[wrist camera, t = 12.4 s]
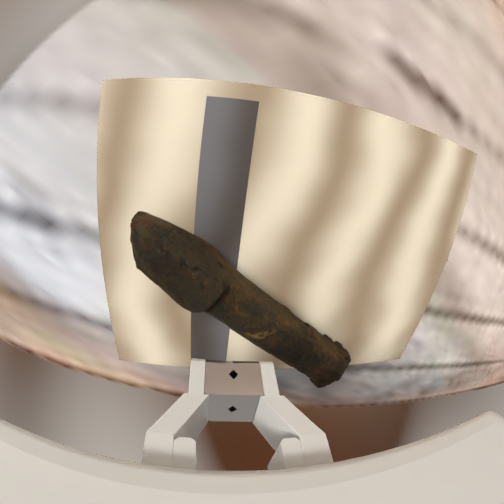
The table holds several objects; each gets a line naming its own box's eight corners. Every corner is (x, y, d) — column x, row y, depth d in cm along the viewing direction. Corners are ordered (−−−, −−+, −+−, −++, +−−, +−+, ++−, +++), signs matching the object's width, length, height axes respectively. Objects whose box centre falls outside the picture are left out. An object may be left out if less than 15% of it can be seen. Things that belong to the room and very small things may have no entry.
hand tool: (341, 337, 24) (361, 375, 20) (306, 362, 25) (320, 402, 21) (169, 177, 16) (154, 197, 12) (129, 222, 17) (105, 254, 13)
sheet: (469, 151, 18) (477, 153, 17) (395, 352, 28) (399, 358, 27) (108, 81, 14) (102, 80, 13) (122, 352, 23) (119, 360, 22)
